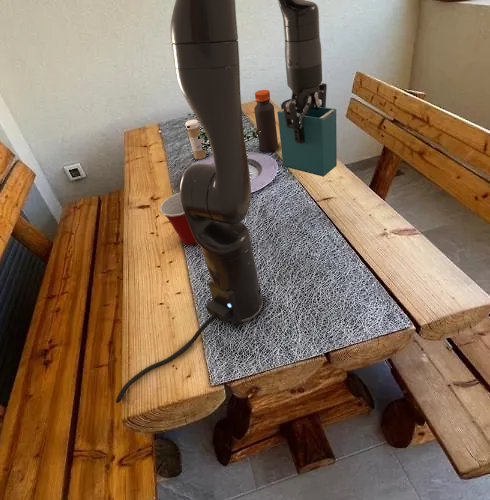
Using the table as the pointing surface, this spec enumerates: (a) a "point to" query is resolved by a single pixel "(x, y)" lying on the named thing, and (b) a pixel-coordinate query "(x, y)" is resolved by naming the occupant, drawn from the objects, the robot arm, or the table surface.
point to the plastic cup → (177, 218)
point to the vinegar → (265, 121)
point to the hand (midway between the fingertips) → (307, 136)
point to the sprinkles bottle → (195, 139)
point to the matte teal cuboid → (310, 142)
